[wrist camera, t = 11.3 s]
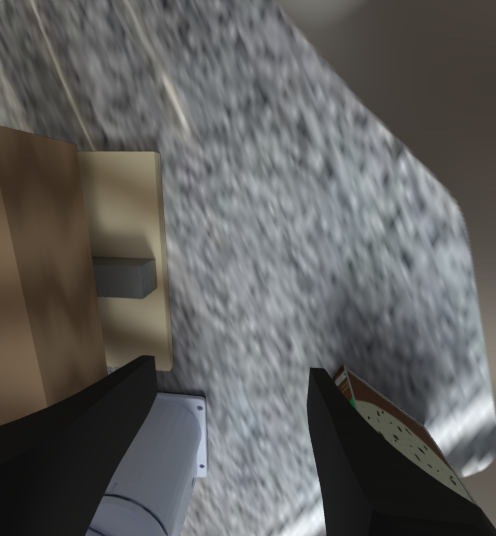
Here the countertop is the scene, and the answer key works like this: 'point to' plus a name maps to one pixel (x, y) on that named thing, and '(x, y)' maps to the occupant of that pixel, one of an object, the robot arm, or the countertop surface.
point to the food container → (399, 429)
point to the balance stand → (128, 253)
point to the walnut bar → (44, 277)
